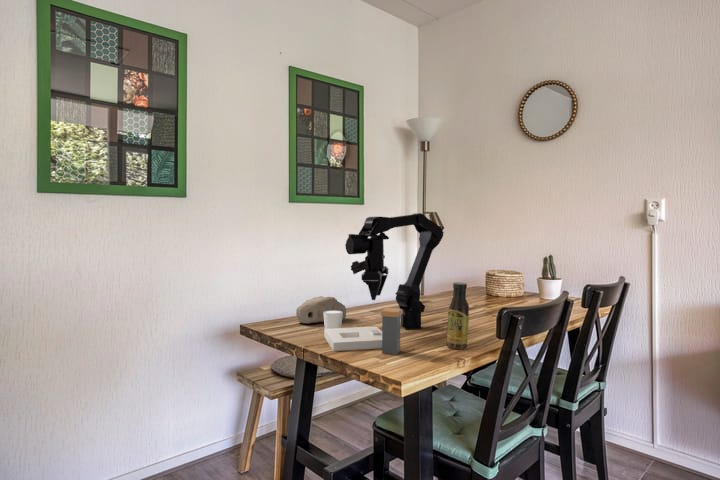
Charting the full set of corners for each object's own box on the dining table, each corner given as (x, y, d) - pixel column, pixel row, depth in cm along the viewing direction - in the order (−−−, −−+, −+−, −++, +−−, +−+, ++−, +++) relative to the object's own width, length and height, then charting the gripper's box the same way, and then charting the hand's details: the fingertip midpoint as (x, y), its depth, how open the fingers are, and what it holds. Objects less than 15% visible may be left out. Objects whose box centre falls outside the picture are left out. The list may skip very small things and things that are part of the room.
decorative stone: (300, 327, 165) (300, 300, 164) (292, 323, 171) (292, 297, 171) (348, 321, 175) (348, 295, 175) (339, 317, 182) (339, 293, 181)
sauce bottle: (442, 347, 138) (443, 282, 138) (454, 343, 143) (455, 281, 142) (461, 351, 134) (462, 284, 133) (472, 347, 138) (473, 283, 137)
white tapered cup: (340, 334, 154) (340, 314, 154) (320, 333, 155) (320, 313, 155) (344, 329, 160) (344, 310, 160) (326, 329, 162) (326, 309, 162)
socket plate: (376, 333, 155) (376, 324, 155) (391, 347, 138) (391, 336, 138) (324, 336, 151) (324, 326, 151) (333, 351, 134) (333, 340, 133)
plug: (384, 349, 136) (385, 308, 135) (401, 350, 134) (401, 308, 134) (380, 353, 131) (381, 311, 131) (397, 355, 130) (398, 312, 129)
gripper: (358, 250, 166) (359, 292, 167) (346, 255, 148) (346, 302, 149) (388, 250, 164) (389, 293, 165) (379, 255, 146) (380, 302, 146)
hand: (376, 297), depth 156 cm, fingers open, 9 cm apart
